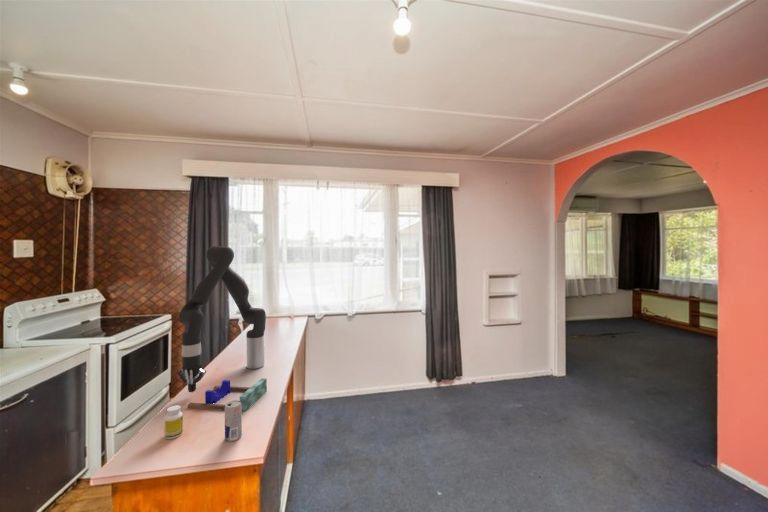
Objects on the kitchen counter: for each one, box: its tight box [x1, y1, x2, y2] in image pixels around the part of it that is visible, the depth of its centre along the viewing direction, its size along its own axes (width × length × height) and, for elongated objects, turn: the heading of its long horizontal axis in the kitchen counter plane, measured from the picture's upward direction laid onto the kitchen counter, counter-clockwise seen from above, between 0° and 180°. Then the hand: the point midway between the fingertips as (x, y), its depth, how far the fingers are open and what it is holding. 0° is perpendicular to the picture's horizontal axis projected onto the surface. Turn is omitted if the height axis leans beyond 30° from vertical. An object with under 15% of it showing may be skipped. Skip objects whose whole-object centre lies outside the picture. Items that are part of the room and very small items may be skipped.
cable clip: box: [204, 379, 231, 404], centre depth 136 cm, size 12×4×6 cm, turn 171°
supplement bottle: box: [163, 404, 184, 440], centre depth 109 cm, size 5×5×10 cm
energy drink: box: [224, 400, 243, 443], centre depth 108 cm, size 5×5×12 cm
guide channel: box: [187, 378, 268, 412], centre depth 136 cm, size 18×26×6 cm
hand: (192, 391), depth 138 cm, fingers closed
